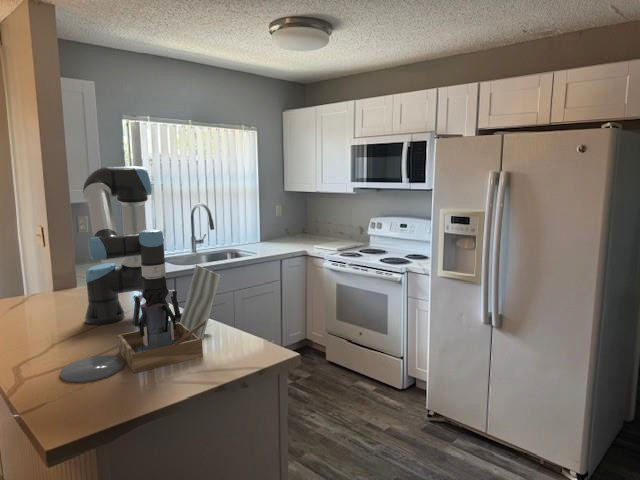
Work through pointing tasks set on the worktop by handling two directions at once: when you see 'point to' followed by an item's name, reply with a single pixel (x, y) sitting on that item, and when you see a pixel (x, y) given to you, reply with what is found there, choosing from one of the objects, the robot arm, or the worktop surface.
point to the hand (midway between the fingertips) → (158, 341)
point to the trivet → (91, 368)
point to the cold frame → (177, 328)
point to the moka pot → (157, 325)
